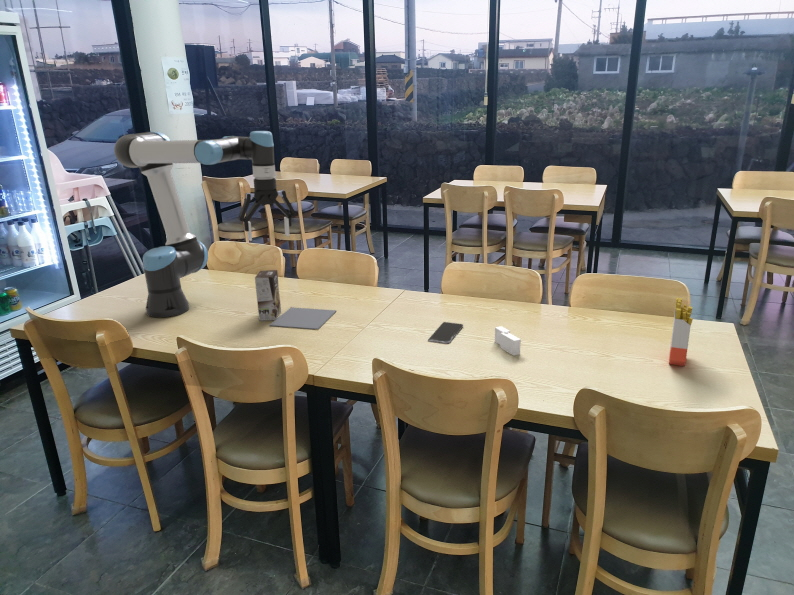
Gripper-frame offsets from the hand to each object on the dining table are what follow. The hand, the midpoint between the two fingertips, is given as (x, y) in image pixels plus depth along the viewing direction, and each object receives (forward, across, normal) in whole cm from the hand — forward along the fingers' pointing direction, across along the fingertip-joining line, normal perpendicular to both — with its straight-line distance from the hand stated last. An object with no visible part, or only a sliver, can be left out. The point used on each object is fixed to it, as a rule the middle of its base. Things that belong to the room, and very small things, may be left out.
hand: (269, 237), depth 217 cm
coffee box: (+28, -3, -6) cm, 28 cm away
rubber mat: (+27, +6, -15) cm, 31 cm away
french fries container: (+24, +86, -106) cm, 139 cm away
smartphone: (+26, +42, -53) cm, 72 cm away
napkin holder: (+26, +52, -72) cm, 93 cm away
